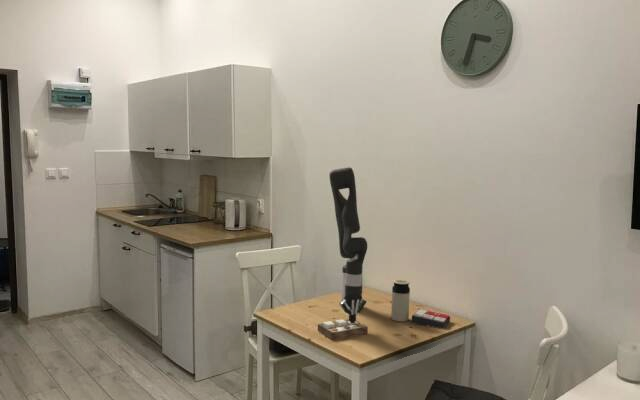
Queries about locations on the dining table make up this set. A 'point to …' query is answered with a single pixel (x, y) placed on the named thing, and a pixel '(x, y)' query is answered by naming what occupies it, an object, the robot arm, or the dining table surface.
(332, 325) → the key
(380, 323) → the dining table surface
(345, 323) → the key middle
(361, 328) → the button board
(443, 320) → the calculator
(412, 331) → the dining table surface
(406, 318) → the travel mug
